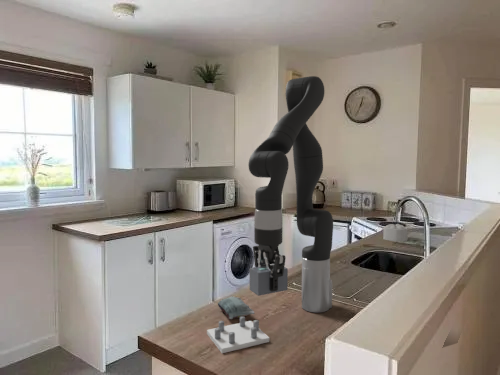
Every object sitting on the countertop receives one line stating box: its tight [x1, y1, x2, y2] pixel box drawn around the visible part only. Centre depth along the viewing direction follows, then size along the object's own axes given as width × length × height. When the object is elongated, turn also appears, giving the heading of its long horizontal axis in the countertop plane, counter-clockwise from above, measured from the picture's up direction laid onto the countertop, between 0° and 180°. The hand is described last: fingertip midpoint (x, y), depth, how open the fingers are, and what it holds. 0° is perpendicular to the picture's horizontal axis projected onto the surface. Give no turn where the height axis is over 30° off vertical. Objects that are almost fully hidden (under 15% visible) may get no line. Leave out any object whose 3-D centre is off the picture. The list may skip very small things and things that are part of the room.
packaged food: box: [217, 295, 255, 320], centre depth 125 cm, size 9×12×5 cm
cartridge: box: [249, 264, 289, 296], centre depth 105 cm, size 9×5×6 cm, turn 117°
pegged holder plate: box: [206, 316, 270, 354], centre depth 109 cm, size 14×12×4 cm
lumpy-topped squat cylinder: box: [382, 223, 409, 242], centre depth 228 cm, size 10×13×9 cm
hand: (268, 287), depth 105 cm, fingers closed on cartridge, 5 cm apart
